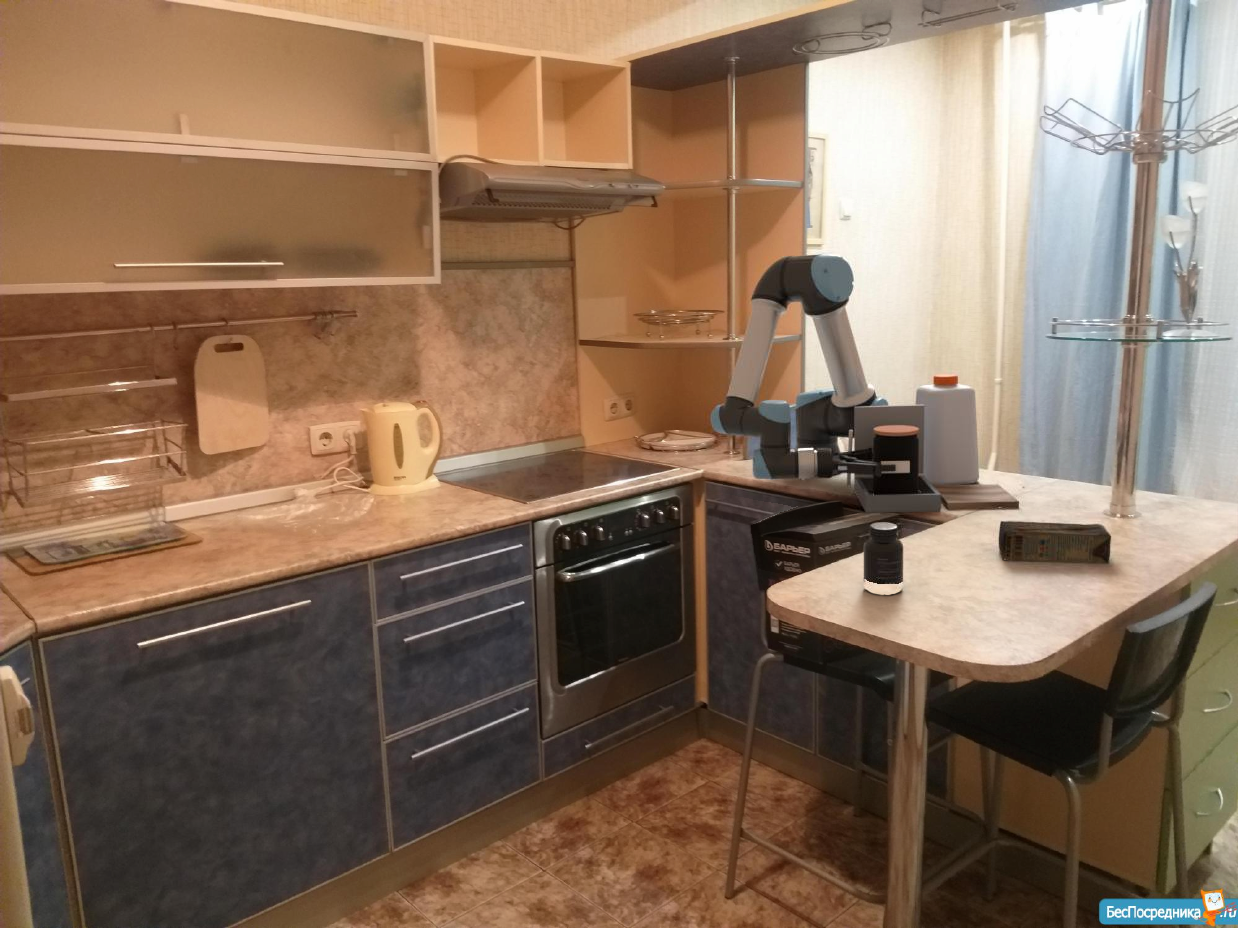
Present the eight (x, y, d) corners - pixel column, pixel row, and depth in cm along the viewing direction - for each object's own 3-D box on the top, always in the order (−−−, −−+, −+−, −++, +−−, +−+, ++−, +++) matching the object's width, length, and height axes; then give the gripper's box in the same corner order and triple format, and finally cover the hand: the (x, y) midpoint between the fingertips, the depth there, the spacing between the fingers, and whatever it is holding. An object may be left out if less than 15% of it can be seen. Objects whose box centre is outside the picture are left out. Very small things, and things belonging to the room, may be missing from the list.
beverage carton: (1111, 565, 175) (1113, 531, 173) (1001, 562, 180) (1002, 529, 178) (1102, 553, 182) (1103, 520, 181) (996, 550, 187) (997, 518, 186)
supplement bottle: (858, 585, 170) (858, 521, 168) (894, 582, 171) (895, 519, 168) (871, 597, 164) (871, 531, 161) (909, 594, 164) (909, 528, 162)
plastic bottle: (930, 488, 240) (932, 380, 234) (904, 476, 255) (905, 374, 249) (985, 483, 242) (988, 376, 237) (955, 472, 257) (958, 370, 251)
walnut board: (932, 491, 237) (932, 485, 237) (997, 490, 235) (997, 484, 234) (947, 508, 219) (947, 502, 219) (1018, 507, 217) (1019, 501, 217)
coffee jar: (913, 495, 234) (914, 424, 231) (922, 505, 224) (923, 431, 220) (869, 496, 235) (869, 425, 232) (876, 506, 225) (877, 433, 221)
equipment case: (846, 486, 247) (846, 404, 242) (918, 485, 244) (919, 401, 240) (859, 512, 220) (859, 420, 216) (940, 511, 218) (942, 418, 213)
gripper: (812, 467, 243) (896, 465, 240) (819, 489, 218) (913, 487, 216) (811, 439, 241) (896, 436, 238) (819, 458, 217) (913, 455, 214)
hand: (904, 461), depth 227 cm, fingers open, 13 cm apart
